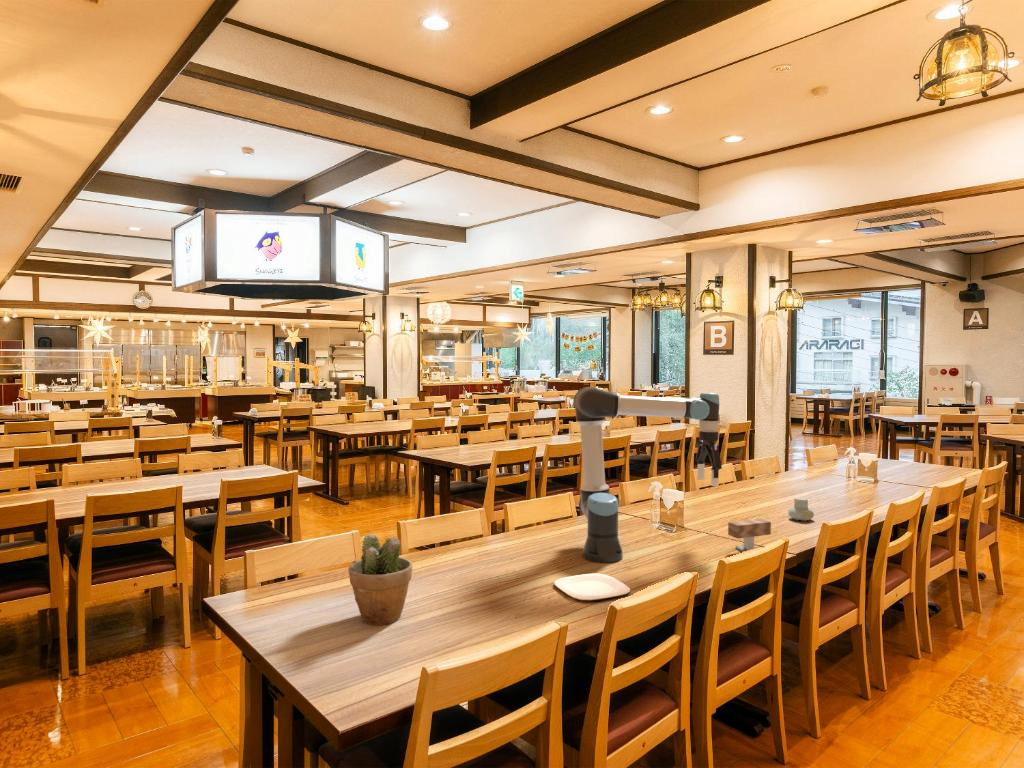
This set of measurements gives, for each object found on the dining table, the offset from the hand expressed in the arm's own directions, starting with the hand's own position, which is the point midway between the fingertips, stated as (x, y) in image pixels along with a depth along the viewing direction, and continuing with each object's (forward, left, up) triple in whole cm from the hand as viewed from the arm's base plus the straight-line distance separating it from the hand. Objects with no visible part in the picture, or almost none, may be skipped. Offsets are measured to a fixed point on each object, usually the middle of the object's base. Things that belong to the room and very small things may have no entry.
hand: (707, 482), depth 257 cm
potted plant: (-127, -57, -26) cm, 141 cm away
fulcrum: (+12, -11, -25) cm, 30 cm away
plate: (-60, -43, -26) cm, 78 cm away
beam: (+12, -11, -19) cm, 25 cm away
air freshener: (+61, +32, -26) cm, 74 cm away
